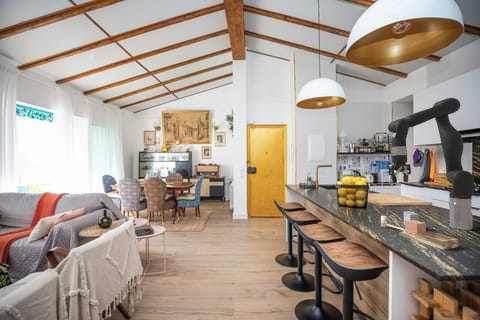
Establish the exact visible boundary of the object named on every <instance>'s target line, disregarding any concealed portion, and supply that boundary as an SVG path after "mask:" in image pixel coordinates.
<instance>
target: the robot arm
mask: <svg viewBox="0 0 480 320" xmlns="http://www.w3.org/2000/svg"><path fill="white" fill-rule="evenodd" d="M460 108H461V102H460V100H459V99H458V98H455V97H447V98H444V99H442V100H439V101H436V102H434V103H433V106H432V107H428V108H426V109H423V110H421V111H420V110H419V111H417V112H414V113H412V114H408V115H407V116H405V117H402V118H399V119H396V120H394V121H393V120H392V121H391V122H389V123H388V126H387V130H388V131H389V132H390V133H391V134H395V135H394V137H391V151H390V152H391V163H392V164H388V176H391V181H392V183H393V184H397V183H398V177H397V176H398V174H399V173H402V175H403V176H402V178H403V179H402V180H403V183H408V182H409V176H410V175H411V174H412V168H411V164H410V163H408V149H407V137H408V135H409V134H408V133H409V129H410V128H413V127H416V126H418V125H421V124H424V123H426V122H428V121H430V120H432V119H434V120H435V121H436V124H437V125H436V126H437V129H438V134H439V137H440V143H441V149H442V153H443V158H444V163H445V173H446V180H447V182H448V183H449V184H451V185H452V190H451V191H450V192H449V195H448V196H449V198H448V199H449V201H448V202H449V227H450V228H452V229H458V230H464V231H471V230H473V206H472V201H473V198H472V196H473V195H474V191H475V189H474V188H475V177H474V175H473V174H472V173H471V172H470V171H467V170H464V168H463V164H462V155H463V153H464V142H463V138H462V134H461V133H460V132H459V131H458V130H457V128H455V127H454V126H453V125H452V123H451V121H450V117H449V115H451V114H454V113H456V112H458V111H459V110H460Z"/></svg>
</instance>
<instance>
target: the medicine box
mask: <svg viewBox="0 0 480 320" xmlns="http://www.w3.org/2000/svg"><path fill="white" fill-rule="evenodd" d="M410 220H415V221H420V216H419V214H418V213H417V212H416V213H415V211H414V212H413V211H408V210H407V211H405V210H404V211H403V226H404V227H405V221H410Z"/></svg>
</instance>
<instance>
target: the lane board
mask: <svg viewBox="0 0 480 320" xmlns="http://www.w3.org/2000/svg"><path fill="white" fill-rule="evenodd" d="M398 234H399V236H401V237H404V238H407V239H411V240H412V239H413V241H415V240H416V241H415V242H418V241H419V242H418V243H421V244H424V245H429V246H431V247H434V248H437V249H440V250H443V251H444V250H449V249H454V248H459V246H460V245H459V241H460V240H459V238H455V237H453V236H449V235H445V234H442V233H438V232H433V231H431V230H430V231H427V233H426V235H422V234H418V233H415V235H412V234H408V233H405V231H399V232H398Z"/></svg>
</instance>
